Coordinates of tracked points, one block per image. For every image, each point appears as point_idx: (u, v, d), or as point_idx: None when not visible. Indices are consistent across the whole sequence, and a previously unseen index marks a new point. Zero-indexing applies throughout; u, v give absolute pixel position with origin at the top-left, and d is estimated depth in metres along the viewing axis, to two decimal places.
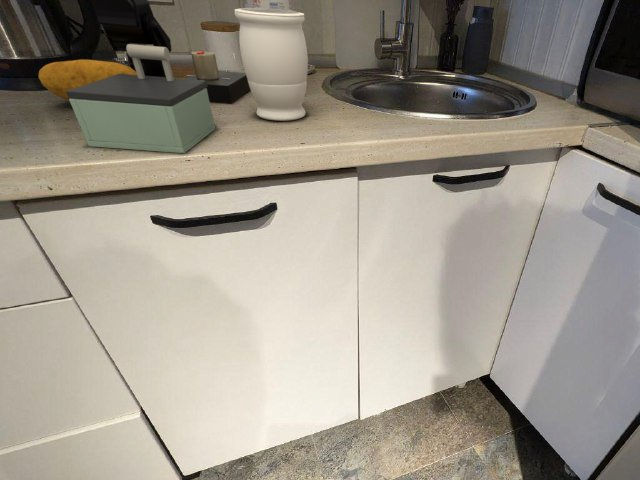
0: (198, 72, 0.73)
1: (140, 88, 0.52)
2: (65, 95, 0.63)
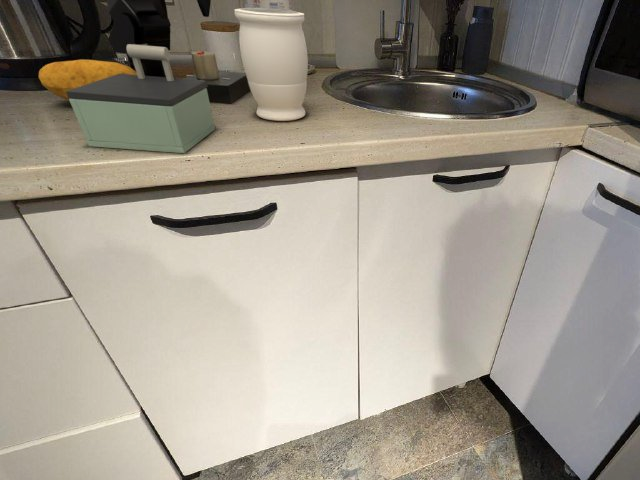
0: (198, 72, 0.73)
1: (140, 88, 0.52)
2: (65, 95, 0.63)
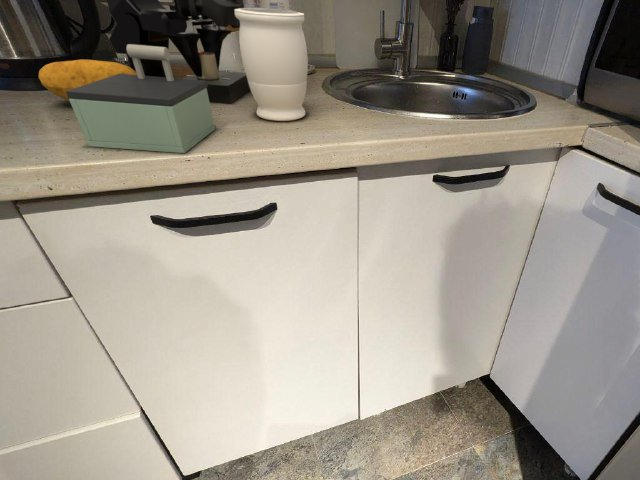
0: None
1: (140, 88, 0.52)
2: (65, 95, 0.63)
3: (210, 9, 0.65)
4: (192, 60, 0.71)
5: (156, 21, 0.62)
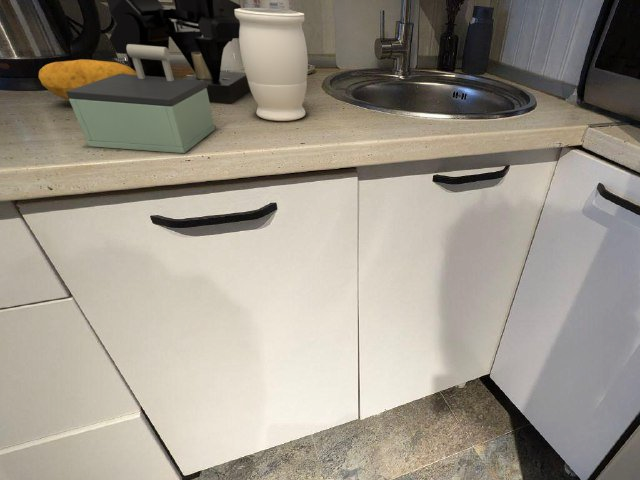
0: None
1: (140, 88, 0.52)
2: (65, 95, 0.63)
3: (231, 10, 0.71)
4: (217, 64, 0.72)
5: (233, 28, 0.66)
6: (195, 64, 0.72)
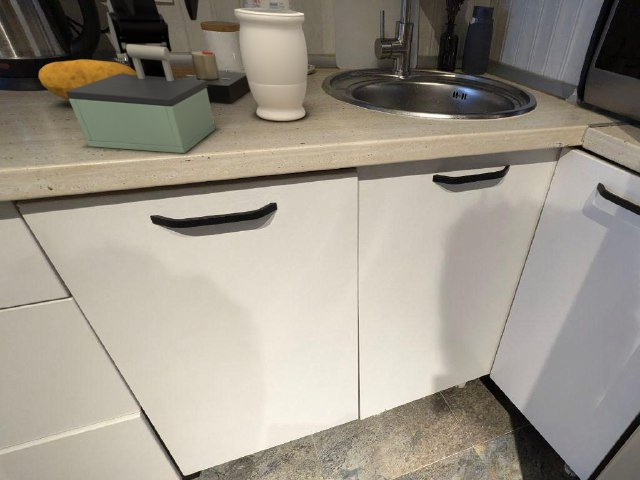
0: (212, 72, 0.73)
1: (140, 88, 0.52)
2: (65, 95, 0.63)
3: None
4: None
5: None
6: (195, 64, 0.72)
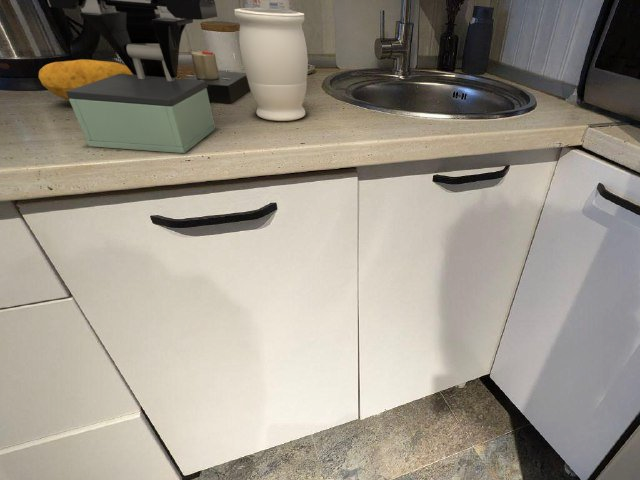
0: (212, 72, 0.73)
1: (140, 88, 0.52)
2: (65, 95, 0.63)
3: None
4: (176, 55, 0.54)
5: (210, 4, 0.51)
6: (195, 64, 0.72)
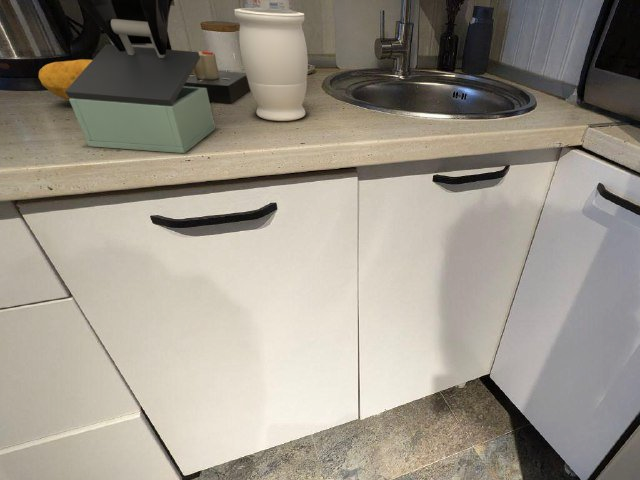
0: (212, 72, 0.73)
1: (135, 77, 0.51)
2: (65, 95, 0.63)
3: None
4: (164, 30, 0.51)
5: None
6: None
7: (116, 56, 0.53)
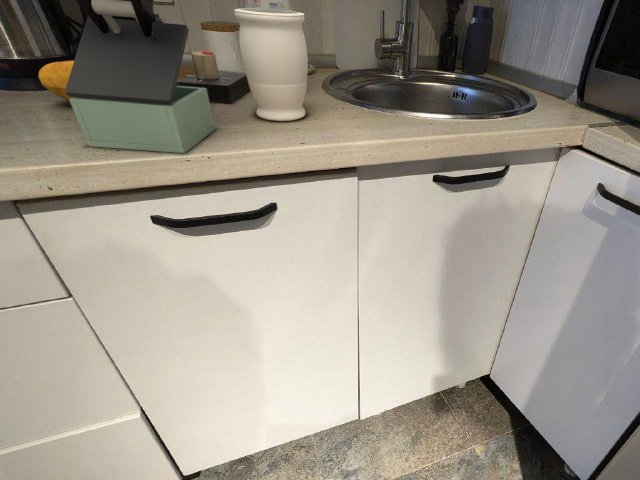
0: (212, 72, 0.73)
1: (129, 69, 0.49)
2: (65, 95, 0.63)
3: None
4: (150, 10, 0.48)
5: None
6: (195, 64, 0.72)
7: (102, 36, 0.50)
